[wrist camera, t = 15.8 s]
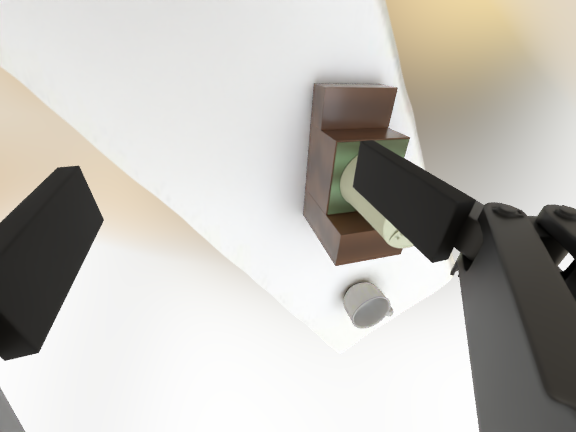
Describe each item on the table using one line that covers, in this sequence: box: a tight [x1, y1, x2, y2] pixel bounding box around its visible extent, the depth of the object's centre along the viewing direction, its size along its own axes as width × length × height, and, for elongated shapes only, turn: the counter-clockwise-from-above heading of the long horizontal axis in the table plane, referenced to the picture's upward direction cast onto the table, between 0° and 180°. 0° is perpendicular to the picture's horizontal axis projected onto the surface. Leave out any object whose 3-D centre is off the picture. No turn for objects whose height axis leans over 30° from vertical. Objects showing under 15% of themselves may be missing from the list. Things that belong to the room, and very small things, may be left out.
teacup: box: [344, 282, 393, 328], centre depth 70 cm, size 14×11×8 cm
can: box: [340, 156, 414, 248], centre depth 36 cm, size 9×9×12 cm
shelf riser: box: [303, 83, 410, 266], centre depth 43 cm, size 24×12×16 cm, turn 178°
